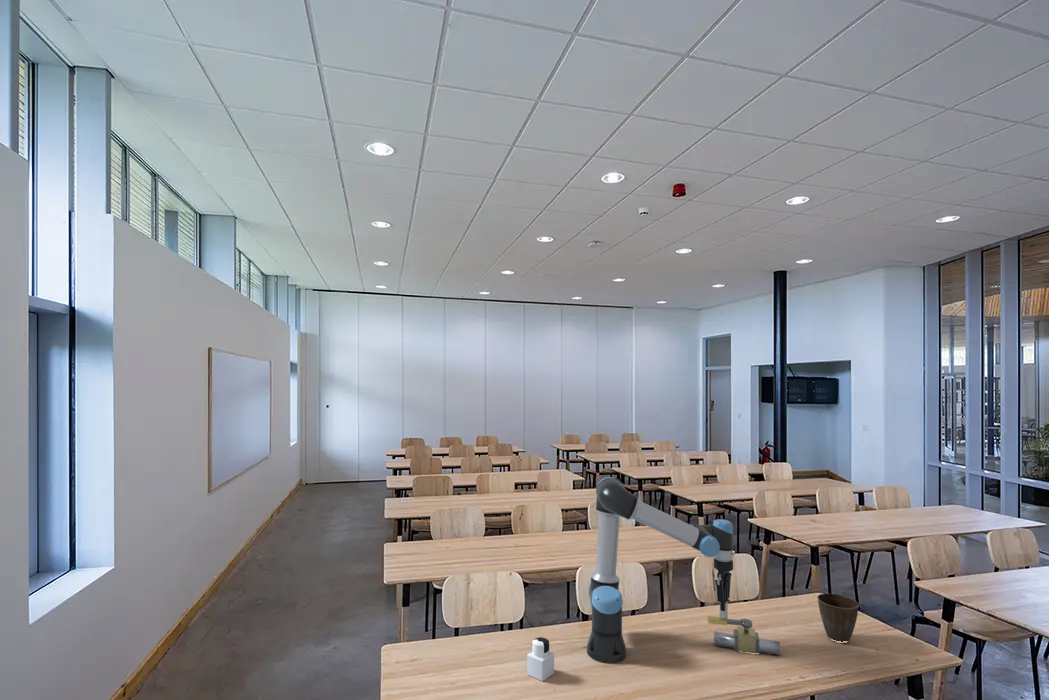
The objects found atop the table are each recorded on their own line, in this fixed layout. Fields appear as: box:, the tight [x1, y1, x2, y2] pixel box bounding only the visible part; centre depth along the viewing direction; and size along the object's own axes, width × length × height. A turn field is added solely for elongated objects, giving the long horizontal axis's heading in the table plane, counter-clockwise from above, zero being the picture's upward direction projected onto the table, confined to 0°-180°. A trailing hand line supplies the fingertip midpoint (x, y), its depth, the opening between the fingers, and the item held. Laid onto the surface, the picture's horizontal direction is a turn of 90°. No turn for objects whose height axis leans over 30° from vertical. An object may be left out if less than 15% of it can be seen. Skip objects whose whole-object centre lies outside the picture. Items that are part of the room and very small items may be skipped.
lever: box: [707, 615, 753, 628], centre depth 217 cm, size 17×4×2 cm, turn 80°
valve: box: [713, 625, 781, 656], centre depth 216 cm, size 24×7×9 cm, turn 72°
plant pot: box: [817, 593, 860, 642], centre depth 226 cm, size 15×15×16 cm
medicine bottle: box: [526, 637, 555, 682], centre depth 195 cm, size 7×7×12 cm
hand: (723, 617), depth 222 cm, fingers closed
